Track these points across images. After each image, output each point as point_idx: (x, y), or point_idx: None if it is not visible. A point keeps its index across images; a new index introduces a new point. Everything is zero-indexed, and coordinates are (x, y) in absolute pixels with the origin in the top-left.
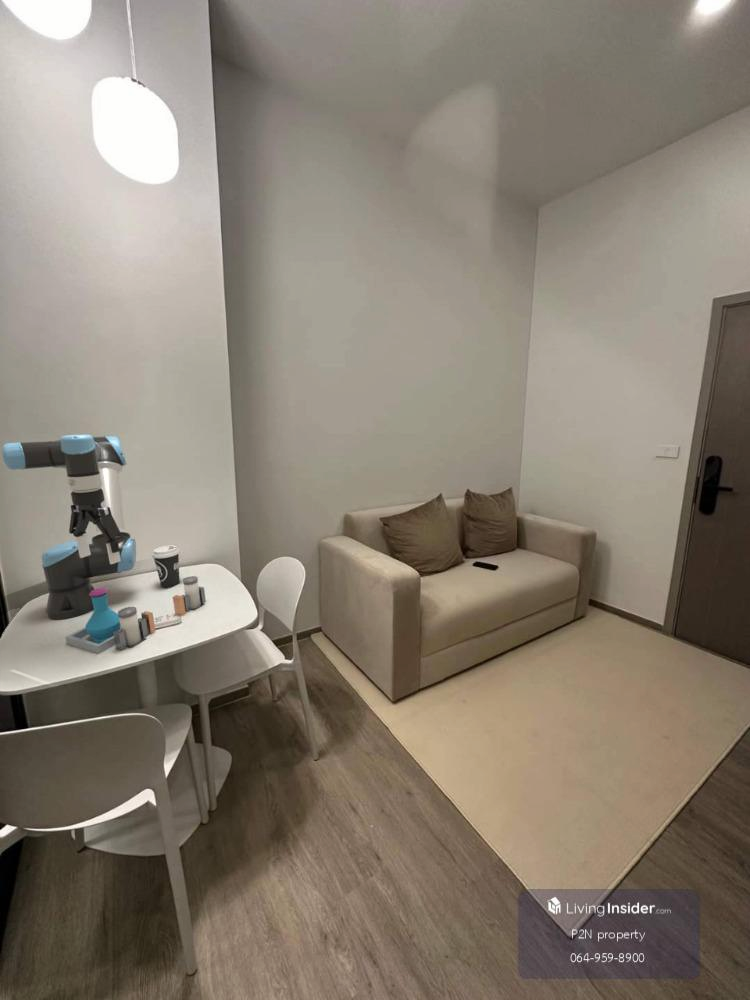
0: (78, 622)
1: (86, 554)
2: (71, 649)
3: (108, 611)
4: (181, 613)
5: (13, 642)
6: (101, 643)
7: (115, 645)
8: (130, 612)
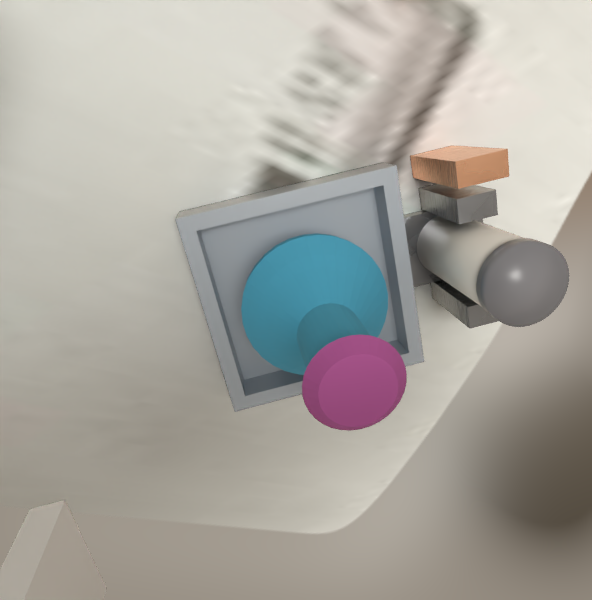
0: (33, 305)
1: (80, 560)
2: None
3: (360, 311)
4: None
5: (22, 496)
6: (414, 345)
7: (443, 306)
8: (564, 284)
